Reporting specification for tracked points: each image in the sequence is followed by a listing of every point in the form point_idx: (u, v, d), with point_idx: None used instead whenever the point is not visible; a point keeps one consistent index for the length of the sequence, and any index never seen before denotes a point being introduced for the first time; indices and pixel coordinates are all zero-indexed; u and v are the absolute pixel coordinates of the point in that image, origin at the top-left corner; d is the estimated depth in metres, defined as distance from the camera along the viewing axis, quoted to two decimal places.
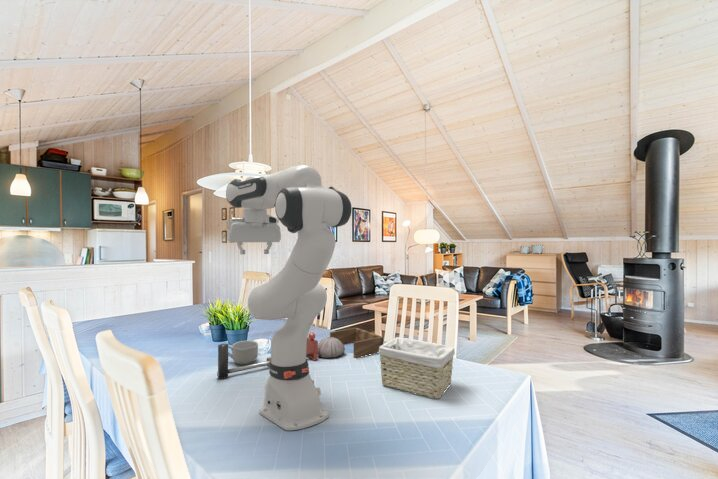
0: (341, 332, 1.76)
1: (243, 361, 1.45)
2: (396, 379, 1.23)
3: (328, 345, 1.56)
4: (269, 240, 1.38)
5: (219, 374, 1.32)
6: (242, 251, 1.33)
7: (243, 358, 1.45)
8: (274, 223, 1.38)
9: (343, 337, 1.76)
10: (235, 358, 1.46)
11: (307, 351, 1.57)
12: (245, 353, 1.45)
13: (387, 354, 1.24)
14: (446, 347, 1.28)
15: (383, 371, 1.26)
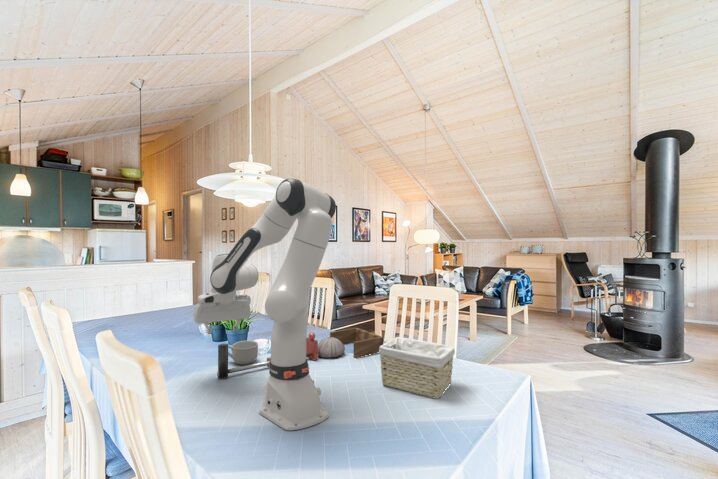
0: (341, 332, 1.76)
1: (243, 361, 1.45)
2: (396, 379, 1.23)
3: (328, 345, 1.56)
4: None
5: (219, 374, 1.32)
6: None
7: (243, 358, 1.45)
8: None
9: (343, 337, 1.76)
10: (235, 358, 1.46)
11: (307, 351, 1.57)
12: (245, 353, 1.45)
13: (387, 354, 1.24)
14: (446, 347, 1.28)
15: (383, 371, 1.26)
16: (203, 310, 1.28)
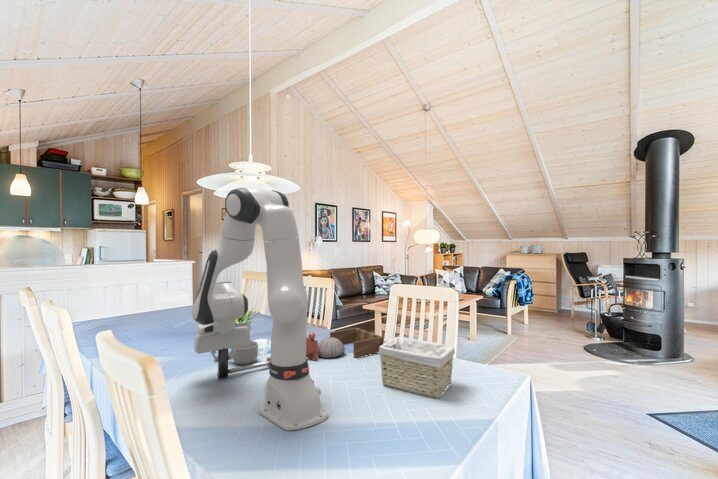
0: (341, 332, 1.76)
1: (243, 361, 1.45)
2: (396, 379, 1.24)
3: (328, 345, 1.56)
4: None
5: (219, 374, 1.32)
6: None
7: (243, 358, 1.45)
8: None
9: (343, 337, 1.76)
10: (235, 358, 1.46)
11: (307, 351, 1.57)
12: (245, 353, 1.45)
13: (387, 354, 1.24)
14: (446, 347, 1.28)
15: (383, 371, 1.26)
16: (203, 340, 1.27)
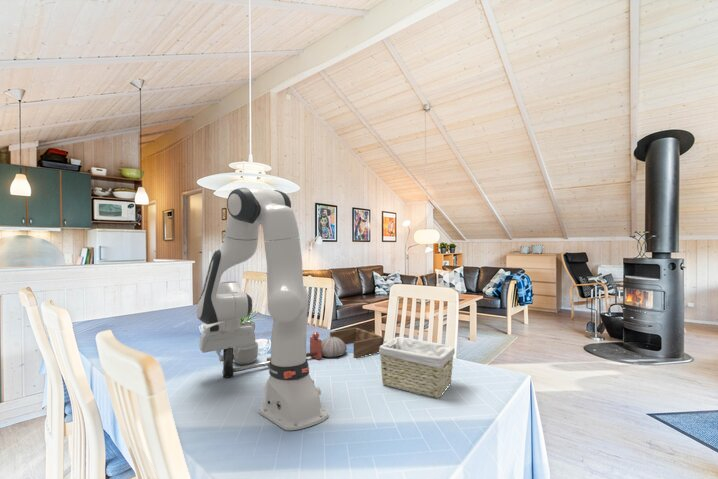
0: (341, 332, 1.76)
1: (243, 361, 1.45)
2: (396, 378, 1.24)
3: (330, 345, 1.57)
4: None
5: (224, 373, 1.33)
6: None
7: (243, 358, 1.45)
8: None
9: (343, 337, 1.76)
10: None
11: (311, 350, 1.58)
12: (245, 353, 1.45)
13: (387, 354, 1.24)
14: (446, 347, 1.28)
15: (383, 371, 1.26)
16: (208, 339, 1.28)
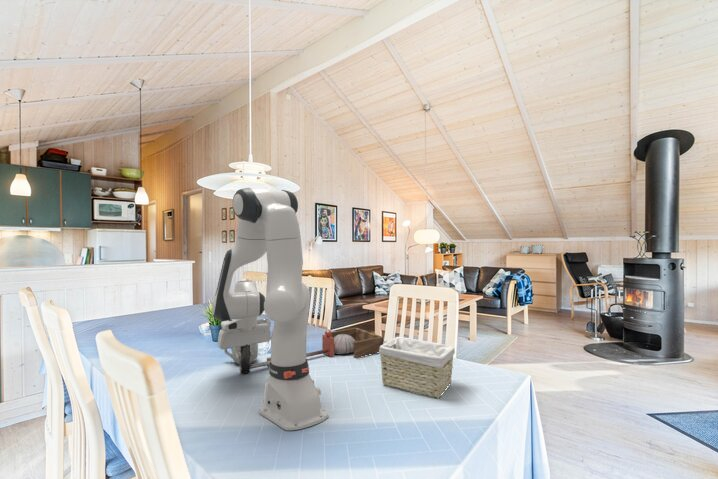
0: (341, 332, 1.76)
1: None
2: (396, 378, 1.24)
3: (342, 342, 1.61)
4: None
5: (241, 369, 1.36)
6: None
7: None
8: None
9: None
10: (235, 358, 1.46)
11: (323, 348, 1.62)
12: None
13: (387, 354, 1.25)
14: (446, 346, 1.28)
15: (383, 370, 1.26)
16: (227, 336, 1.32)
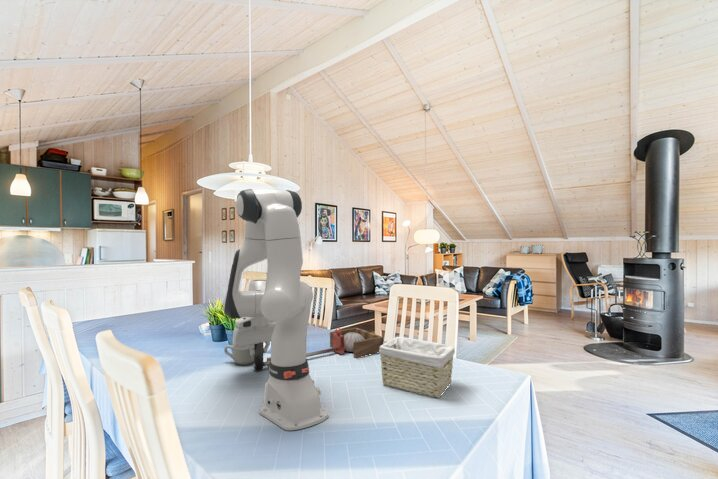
0: (341, 332, 1.76)
1: (243, 361, 1.45)
2: (397, 378, 1.24)
3: (352, 340, 1.64)
4: None
5: (255, 366, 1.40)
6: None
7: (243, 358, 1.45)
8: None
9: None
10: (235, 358, 1.46)
11: (333, 346, 1.65)
12: (245, 353, 1.45)
13: (388, 353, 1.25)
14: (446, 346, 1.28)
15: (384, 370, 1.27)
16: (241, 334, 1.35)
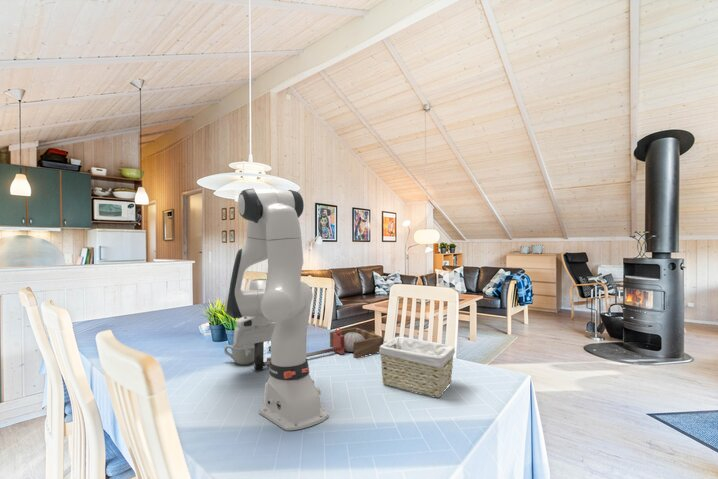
0: (341, 332, 1.76)
1: (243, 361, 1.45)
2: (397, 378, 1.24)
3: (352, 340, 1.64)
4: None
5: (255, 366, 1.40)
6: None
7: (243, 358, 1.45)
8: None
9: None
10: (235, 358, 1.46)
11: (334, 346, 1.65)
12: (245, 353, 1.45)
13: (388, 353, 1.25)
14: (446, 346, 1.29)
15: (384, 370, 1.27)
16: (242, 333, 1.36)
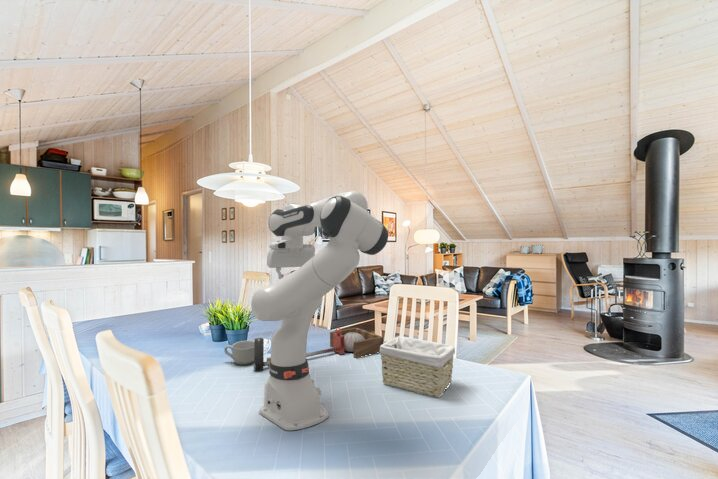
0: (341, 332, 1.76)
1: (243, 361, 1.45)
2: (397, 378, 1.24)
3: (352, 340, 1.64)
4: None
5: (255, 366, 1.40)
6: None
7: (243, 358, 1.45)
8: None
9: None
10: (235, 358, 1.46)
11: (334, 346, 1.65)
12: (245, 353, 1.45)
13: (388, 353, 1.25)
14: (446, 346, 1.29)
15: (384, 370, 1.27)
16: (276, 255, 1.36)
